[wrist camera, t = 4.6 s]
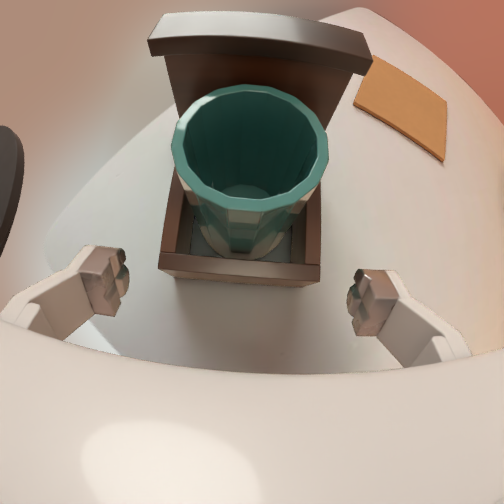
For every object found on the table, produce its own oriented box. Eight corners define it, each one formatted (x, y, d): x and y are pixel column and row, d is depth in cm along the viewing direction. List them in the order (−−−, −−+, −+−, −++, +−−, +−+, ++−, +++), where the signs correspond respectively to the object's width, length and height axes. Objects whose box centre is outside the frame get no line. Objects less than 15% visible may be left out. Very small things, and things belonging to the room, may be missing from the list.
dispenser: (307, 287, 20) (411, 255, 8) (168, 276, 20) (73, 227, 7) (309, 151, 23) (363, 32, 10) (190, 140, 22) (163, 13, 9)
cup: (186, 237, 21) (141, 169, 10) (226, 170, 22) (222, 69, 11) (262, 276, 20) (291, 241, 10) (297, 204, 22) (346, 120, 11)
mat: (352, 104, 24) (354, 101, 24) (371, 56, 27) (373, 54, 26) (442, 162, 24) (444, 160, 24) (444, 103, 26) (446, 101, 26)
